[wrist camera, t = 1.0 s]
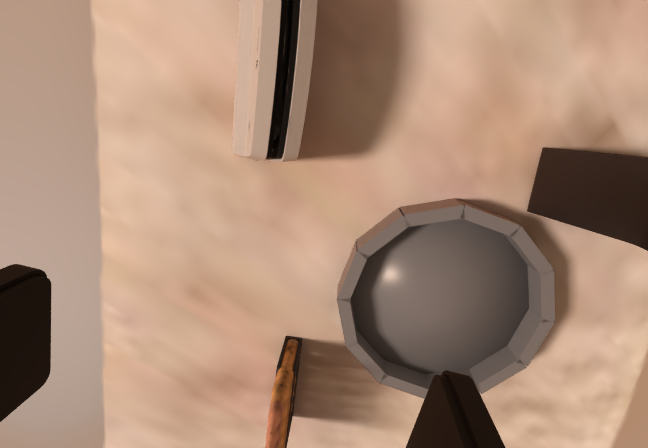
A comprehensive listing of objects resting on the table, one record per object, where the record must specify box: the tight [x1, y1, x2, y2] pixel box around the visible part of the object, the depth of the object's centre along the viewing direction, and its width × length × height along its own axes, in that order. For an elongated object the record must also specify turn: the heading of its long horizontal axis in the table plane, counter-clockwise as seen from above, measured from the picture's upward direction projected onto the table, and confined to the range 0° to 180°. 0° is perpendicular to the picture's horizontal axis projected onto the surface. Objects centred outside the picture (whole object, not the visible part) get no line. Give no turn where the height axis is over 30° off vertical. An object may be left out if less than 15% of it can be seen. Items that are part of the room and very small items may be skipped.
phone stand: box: [527, 148, 648, 251], centre depth 27 cm, size 9×6×12 cm, turn 84°
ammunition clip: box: [265, 336, 302, 448], centre depth 35 cm, size 11×2×12 cm, turn 173°
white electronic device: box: [232, 0, 318, 162], centre depth 28 cm, size 17×5×10 cm, turn 173°
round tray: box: [337, 199, 555, 399], centre depth 35 cm, size 20×20×3 cm
